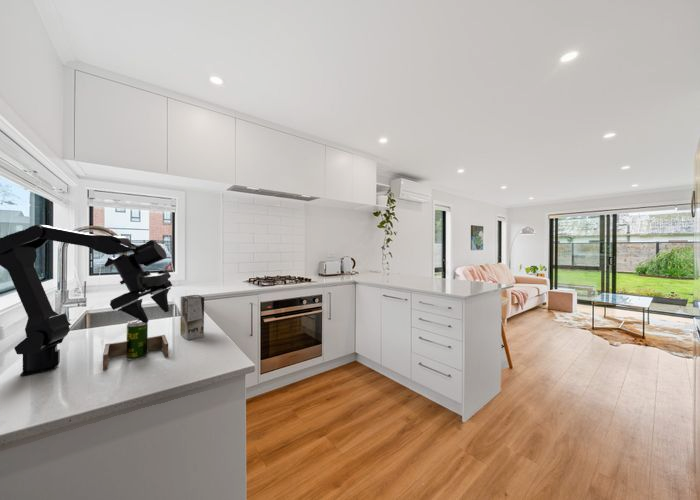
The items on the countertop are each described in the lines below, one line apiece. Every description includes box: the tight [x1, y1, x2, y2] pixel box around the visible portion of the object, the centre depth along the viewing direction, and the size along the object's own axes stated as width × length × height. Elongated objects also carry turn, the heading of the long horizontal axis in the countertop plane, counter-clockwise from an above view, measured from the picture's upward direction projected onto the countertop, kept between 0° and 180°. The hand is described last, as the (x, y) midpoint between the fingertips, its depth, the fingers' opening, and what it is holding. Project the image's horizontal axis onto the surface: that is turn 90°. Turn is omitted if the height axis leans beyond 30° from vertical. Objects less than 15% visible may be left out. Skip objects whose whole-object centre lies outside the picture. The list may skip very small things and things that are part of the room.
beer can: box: [125, 319, 149, 362], centre depth 88 cm, size 5×5×12 cm
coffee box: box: [179, 294, 205, 341], centre depth 110 cm, size 9×6×16 cm
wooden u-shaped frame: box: [102, 334, 169, 371], centre depth 88 cm, size 16×11×4 cm
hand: (157, 316), depth 85 cm, fingers open, 9 cm apart
